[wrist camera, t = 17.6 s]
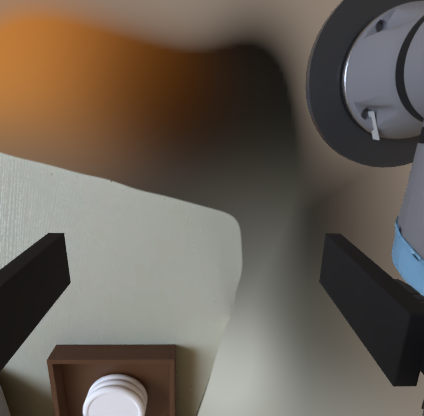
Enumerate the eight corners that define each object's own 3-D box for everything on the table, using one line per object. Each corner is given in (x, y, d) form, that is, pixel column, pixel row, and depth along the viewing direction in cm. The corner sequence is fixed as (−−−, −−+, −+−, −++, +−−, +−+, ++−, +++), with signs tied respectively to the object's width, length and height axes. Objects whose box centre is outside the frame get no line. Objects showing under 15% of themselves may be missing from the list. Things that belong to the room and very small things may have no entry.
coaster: (157, 384, 52) (154, 403, 49) (133, 424, 55) (129, 444, 51) (102, 363, 51) (95, 381, 47) (80, 405, 53) (72, 425, 50)
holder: (175, 344, 51) (174, 359, 48) (176, 432, 57) (175, 450, 54) (56, 344, 50) (46, 360, 47) (68, 433, 56) (60, 452, 53)
